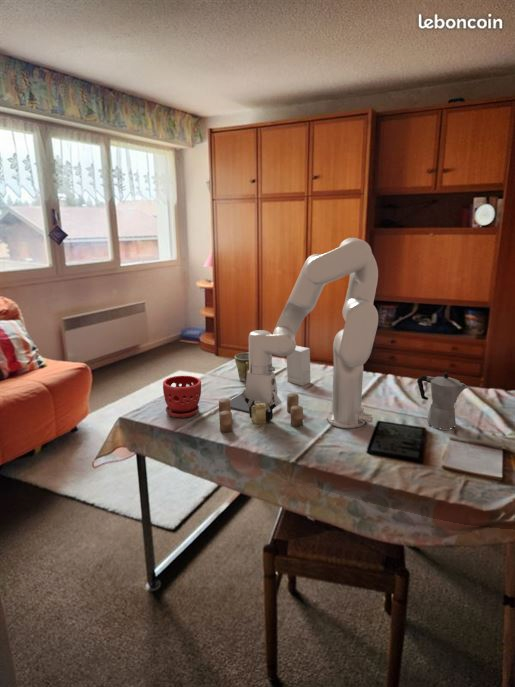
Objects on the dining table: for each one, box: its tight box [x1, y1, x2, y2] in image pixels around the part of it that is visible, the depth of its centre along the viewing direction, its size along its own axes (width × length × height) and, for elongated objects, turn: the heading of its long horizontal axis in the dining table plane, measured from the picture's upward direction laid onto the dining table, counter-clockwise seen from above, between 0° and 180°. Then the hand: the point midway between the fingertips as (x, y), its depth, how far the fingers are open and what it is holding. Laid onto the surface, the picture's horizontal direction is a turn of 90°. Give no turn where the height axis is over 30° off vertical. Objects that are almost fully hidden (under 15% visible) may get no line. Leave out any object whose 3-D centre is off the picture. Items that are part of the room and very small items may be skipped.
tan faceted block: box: [251, 403, 268, 425], centre depth 154 cm, size 6×6×5 cm
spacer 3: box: [286, 392, 300, 414], centre depth 161 cm, size 4×4×6 cm
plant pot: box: [162, 375, 202, 419], centre depth 160 cm, size 13×13×12 cm
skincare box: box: [286, 345, 311, 387], centre depth 187 cm, size 8×6×15 cm
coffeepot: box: [416, 372, 468, 429], centre depth 149 cm, size 15×9×18 cm, turn 54°
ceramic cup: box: [234, 352, 249, 382], centre depth 191 cm, size 13×10×10 cm
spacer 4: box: [290, 405, 304, 428], centre depth 151 cm, size 4×4×6 cm
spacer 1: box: [218, 398, 232, 414], centre depth 157 cm, size 4×4×6 cm
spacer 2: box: [218, 411, 233, 434], centre depth 147 cm, size 4×4×6 cm
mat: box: [229, 393, 275, 414], centre depth 168 cm, size 14×14×1 cm
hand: (260, 418), depth 155 cm, fingers closed on tan faceted block, 5 cm apart
